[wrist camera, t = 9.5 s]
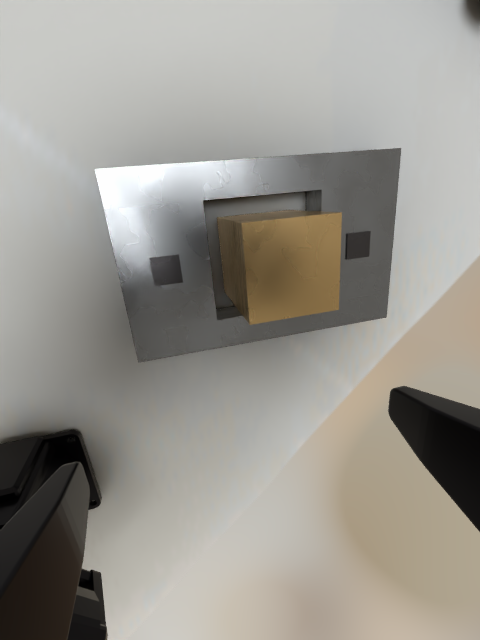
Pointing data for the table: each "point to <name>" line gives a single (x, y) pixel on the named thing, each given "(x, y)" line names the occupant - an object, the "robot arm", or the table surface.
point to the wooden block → (281, 263)
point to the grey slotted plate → (193, 252)
